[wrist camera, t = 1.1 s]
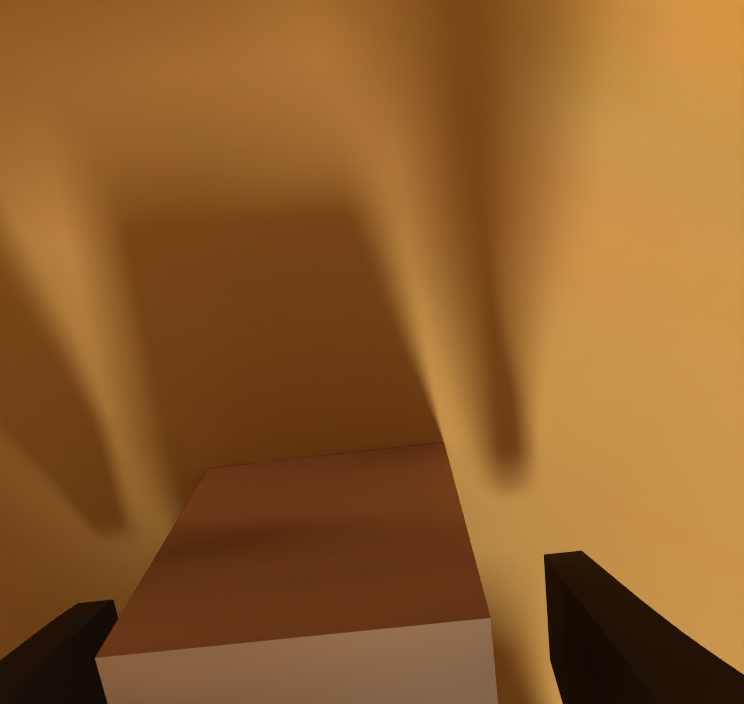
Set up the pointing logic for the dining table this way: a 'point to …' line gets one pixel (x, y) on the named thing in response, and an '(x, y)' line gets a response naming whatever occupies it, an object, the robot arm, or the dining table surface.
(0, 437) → the dining table surface
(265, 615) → the walnut block
